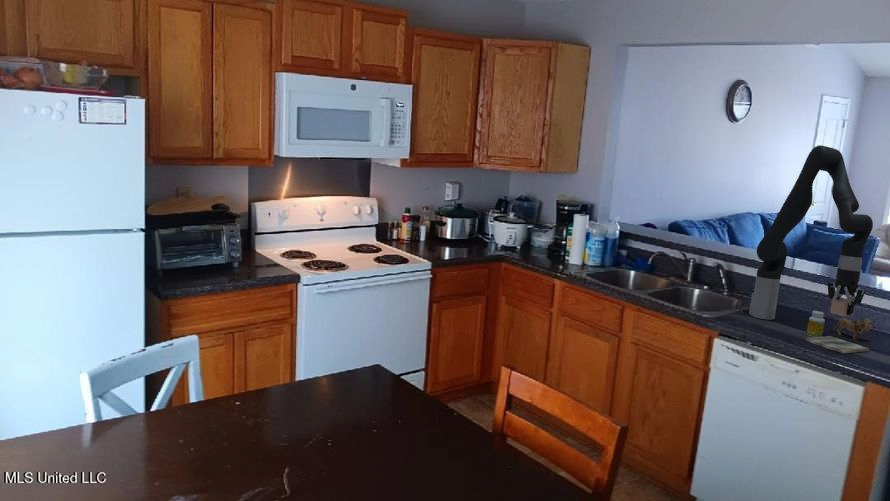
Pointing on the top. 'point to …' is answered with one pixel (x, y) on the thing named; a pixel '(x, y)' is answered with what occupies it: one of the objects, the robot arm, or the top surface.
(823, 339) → the pale green flat slab
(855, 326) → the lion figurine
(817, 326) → the supplement bottle
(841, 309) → the terracotta block
